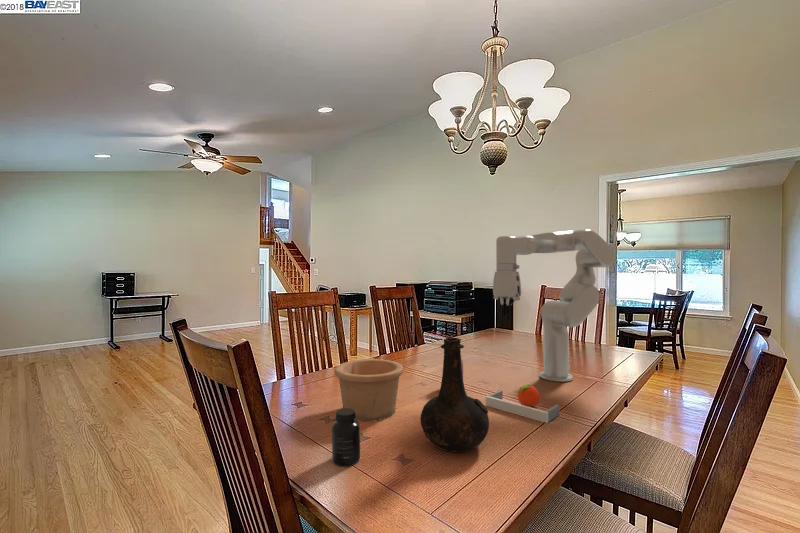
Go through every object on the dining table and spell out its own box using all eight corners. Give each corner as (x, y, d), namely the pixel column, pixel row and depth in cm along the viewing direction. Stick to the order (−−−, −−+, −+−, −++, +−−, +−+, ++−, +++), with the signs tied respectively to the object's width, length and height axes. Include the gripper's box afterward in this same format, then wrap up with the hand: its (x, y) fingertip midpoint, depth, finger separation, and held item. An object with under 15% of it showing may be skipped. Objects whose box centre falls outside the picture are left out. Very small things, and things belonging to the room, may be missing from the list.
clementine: (527, 412, 128) (527, 390, 128) (511, 405, 134) (510, 384, 134) (544, 407, 132) (544, 385, 132) (527, 401, 138) (527, 380, 138)
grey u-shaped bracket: (500, 398, 141) (499, 390, 141) (559, 414, 126) (559, 405, 126) (485, 405, 134) (485, 396, 134) (546, 423, 119) (546, 413, 119)
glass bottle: (490, 464, 96) (490, 347, 95) (416, 458, 99) (415, 344, 99) (487, 432, 113) (487, 333, 113) (424, 428, 117) (423, 331, 116)
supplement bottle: (333, 454, 101) (332, 406, 101) (360, 452, 102) (360, 405, 102) (330, 468, 95) (330, 417, 94) (360, 466, 95) (359, 416, 95)
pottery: (411, 403, 137) (411, 361, 137) (389, 429, 116) (388, 379, 116) (354, 396, 144) (353, 356, 144) (322, 420, 123) (322, 373, 123)
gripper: (529, 268, 153) (529, 316, 154) (494, 267, 164) (494, 312, 164) (519, 268, 148) (519, 318, 148) (484, 268, 158) (484, 314, 159)
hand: (506, 315), depth 156 cm, fingers closed
